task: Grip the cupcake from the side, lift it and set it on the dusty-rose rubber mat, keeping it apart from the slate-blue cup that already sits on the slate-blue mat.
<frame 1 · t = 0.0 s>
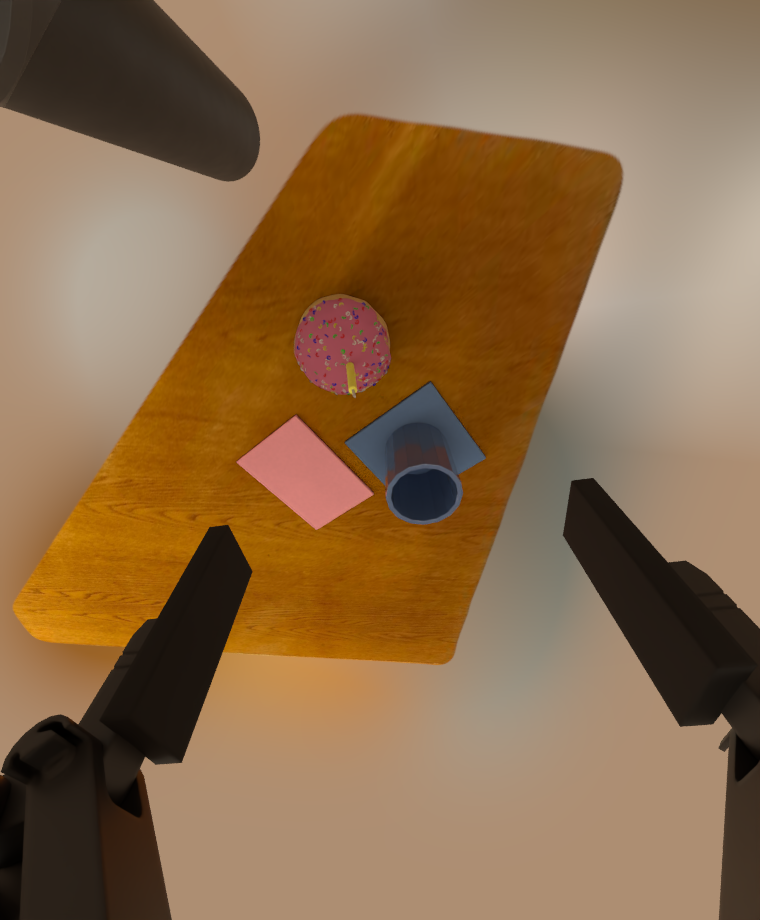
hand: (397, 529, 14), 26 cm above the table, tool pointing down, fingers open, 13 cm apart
blue cup: (416, 449, 42), resting on blue mat
rose mat: (307, 477, 45), on the table
cupcake: (346, 335, 36), on the table
blue mat: (416, 449, 42), on the table
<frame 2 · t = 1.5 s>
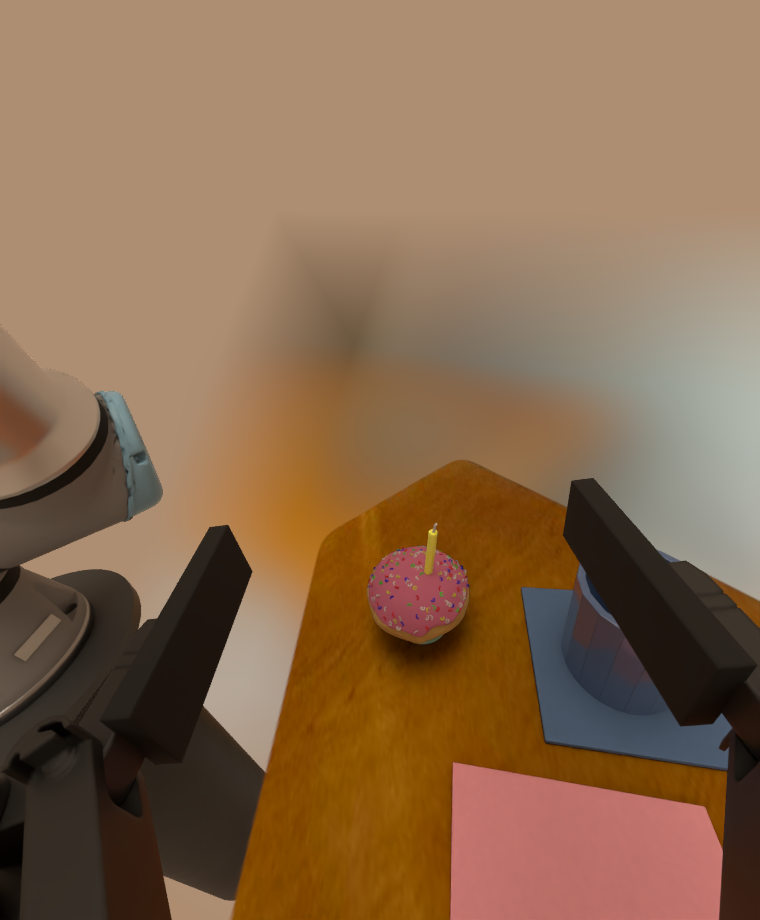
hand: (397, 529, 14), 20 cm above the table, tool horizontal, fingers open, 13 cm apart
blue cup: (614, 661, 27), resting on blue mat
rose mat: (592, 912, 18), on the table
cupcake: (421, 621, 33), on the table
blue mat: (614, 661, 27), on the table
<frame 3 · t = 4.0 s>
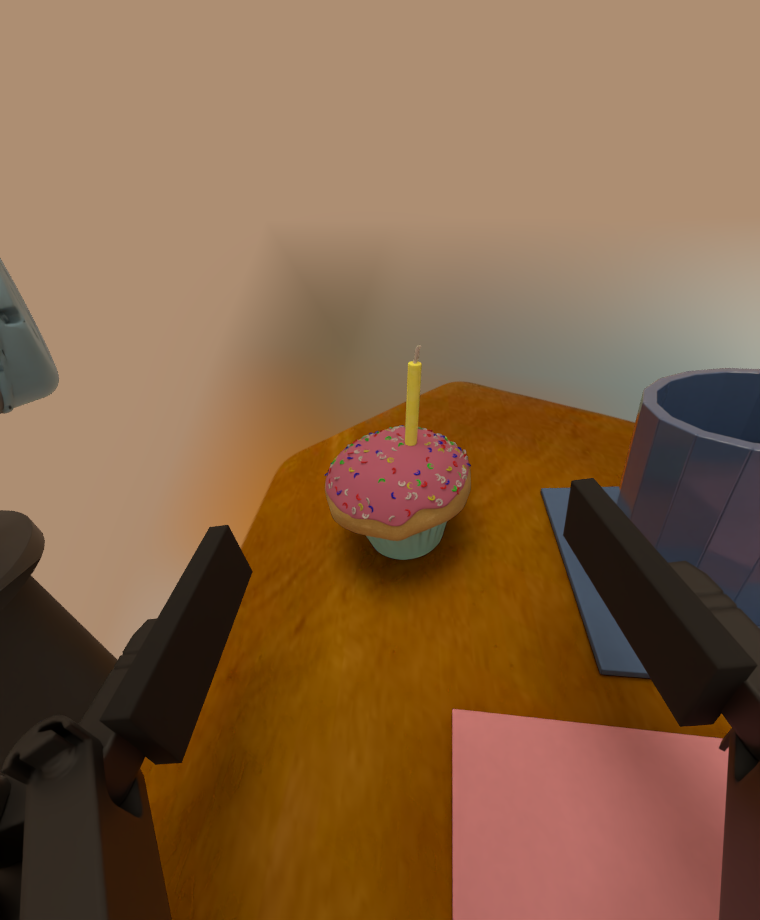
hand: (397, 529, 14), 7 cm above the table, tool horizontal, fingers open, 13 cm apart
blue cup: (690, 563, 18), resting on blue mat
cupcake: (405, 536, 23), on the table
blue mat: (690, 563, 18), on the table
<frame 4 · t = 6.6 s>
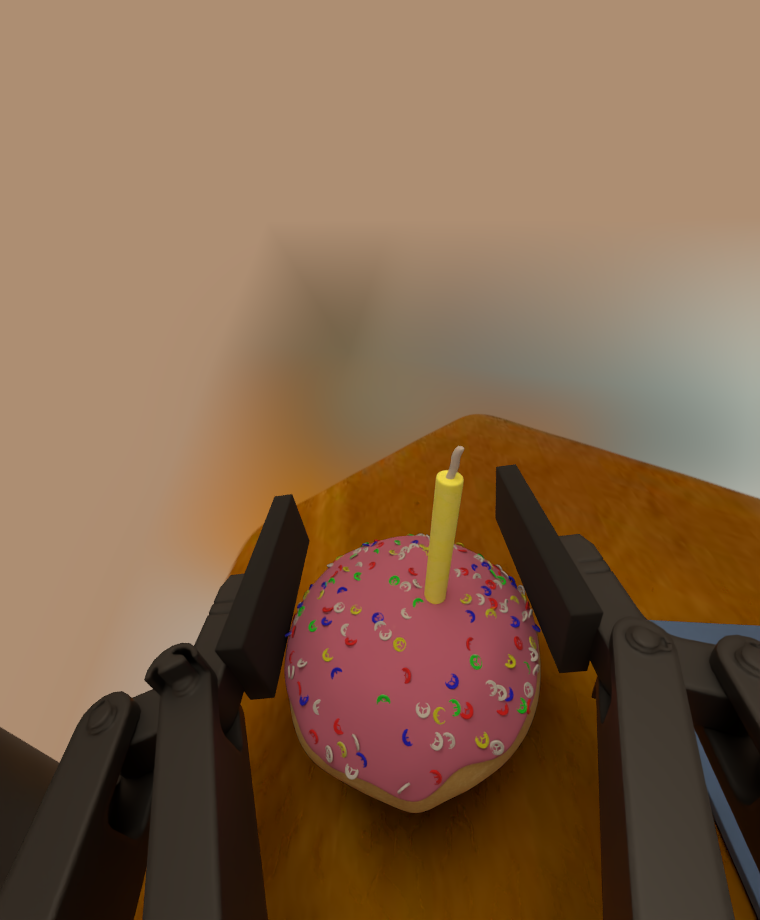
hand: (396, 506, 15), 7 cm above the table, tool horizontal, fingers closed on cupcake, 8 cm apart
cupcake: (420, 703, 15), on the table, touching gripper
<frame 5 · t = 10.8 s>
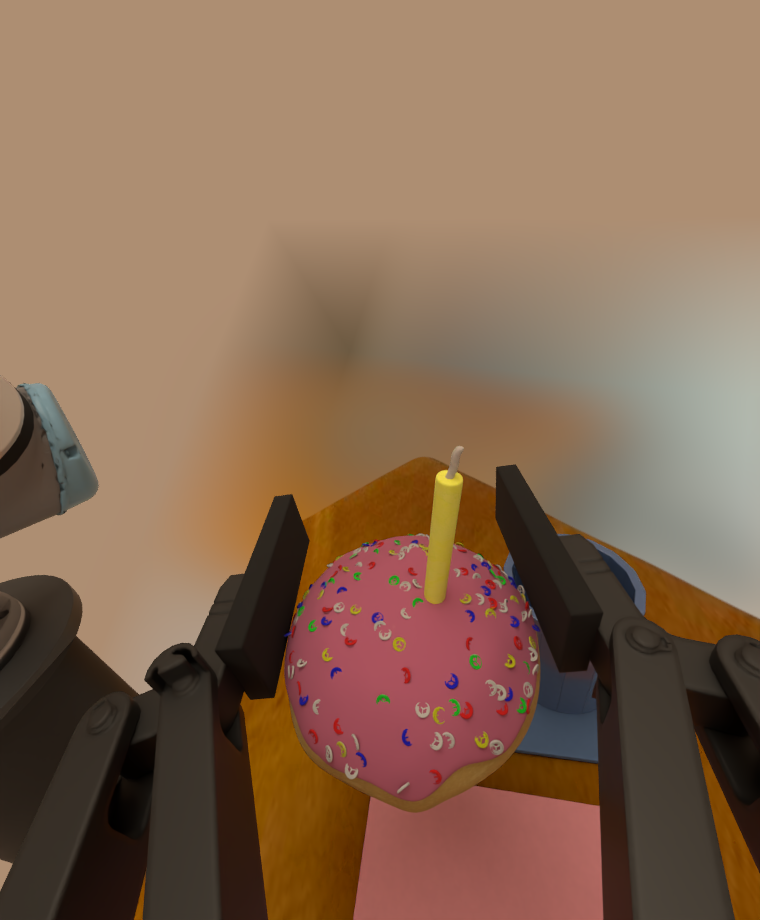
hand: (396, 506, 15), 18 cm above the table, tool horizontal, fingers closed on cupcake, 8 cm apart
blue cup: (554, 659, 26), resting on blue mat
cupcake: (420, 703, 15), point 11 cm above the table, touching gripper
blue mat: (554, 659, 26), on the table
when the fingers open (7 cm above the table, at t = 15.0 s): cupcake stays where it is, resting on rose mat.
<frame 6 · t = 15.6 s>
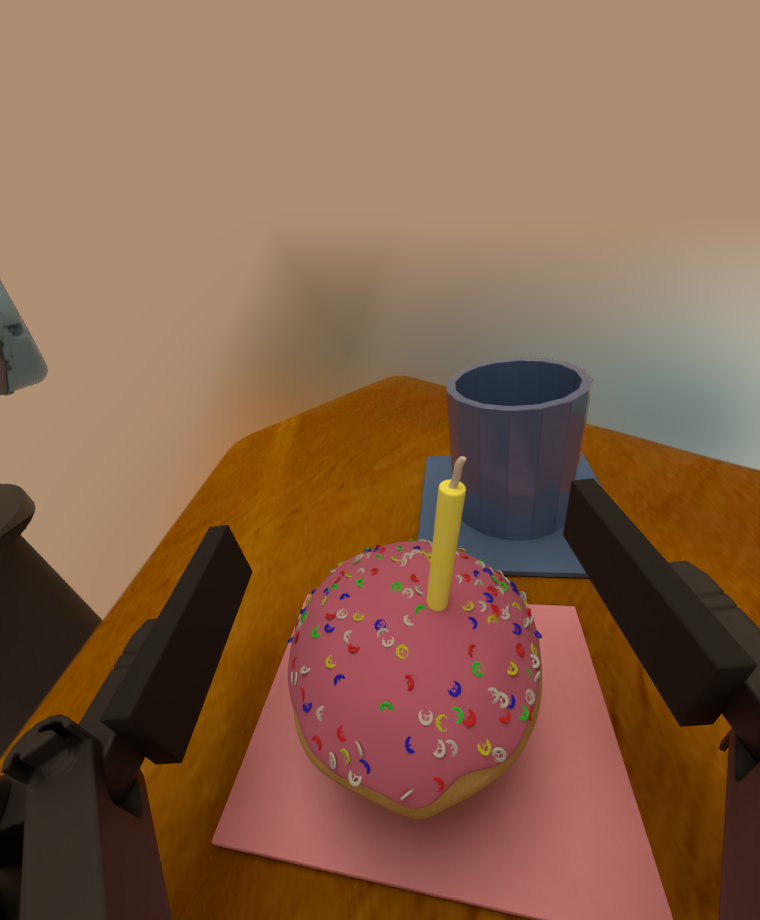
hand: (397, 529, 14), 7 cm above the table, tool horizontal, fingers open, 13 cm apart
blue cup: (509, 504, 24), resting on blue mat
rose mat: (424, 708, 15), on the table
cupcake: (422, 707, 15), resting on rose mat
blue mat: (509, 504, 24), on the table
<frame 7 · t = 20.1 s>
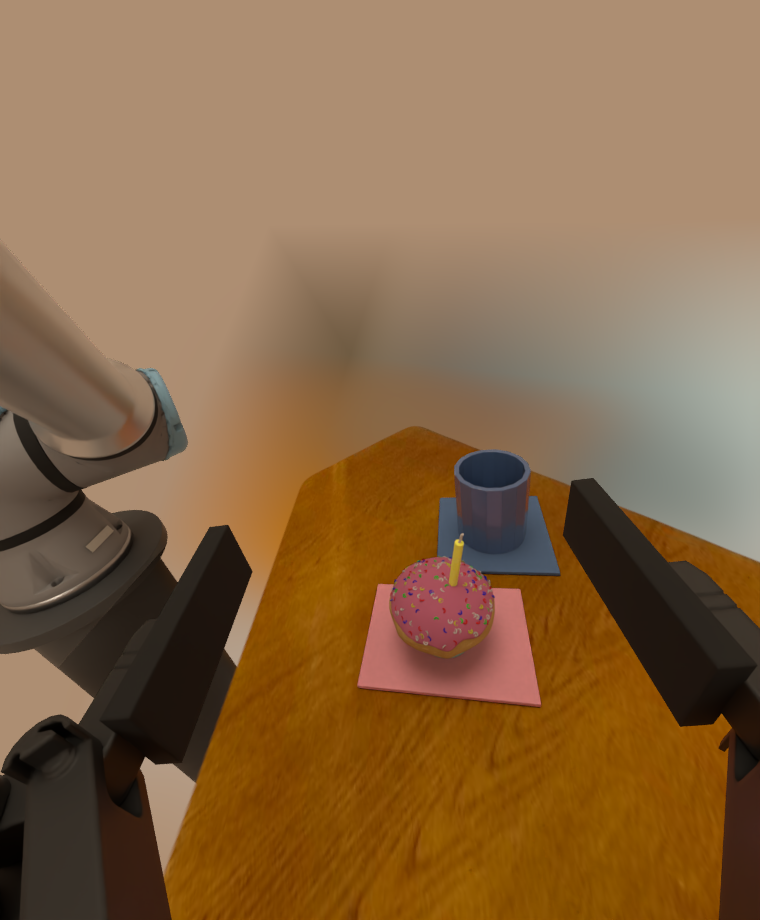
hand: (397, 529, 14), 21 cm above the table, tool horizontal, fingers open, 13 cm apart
blue cup: (491, 532, 41), resting on blue mat
rose mat: (445, 636, 32), on the table
cupcake: (444, 635, 32), resting on rose mat
blue mat: (491, 532, 41), on the table
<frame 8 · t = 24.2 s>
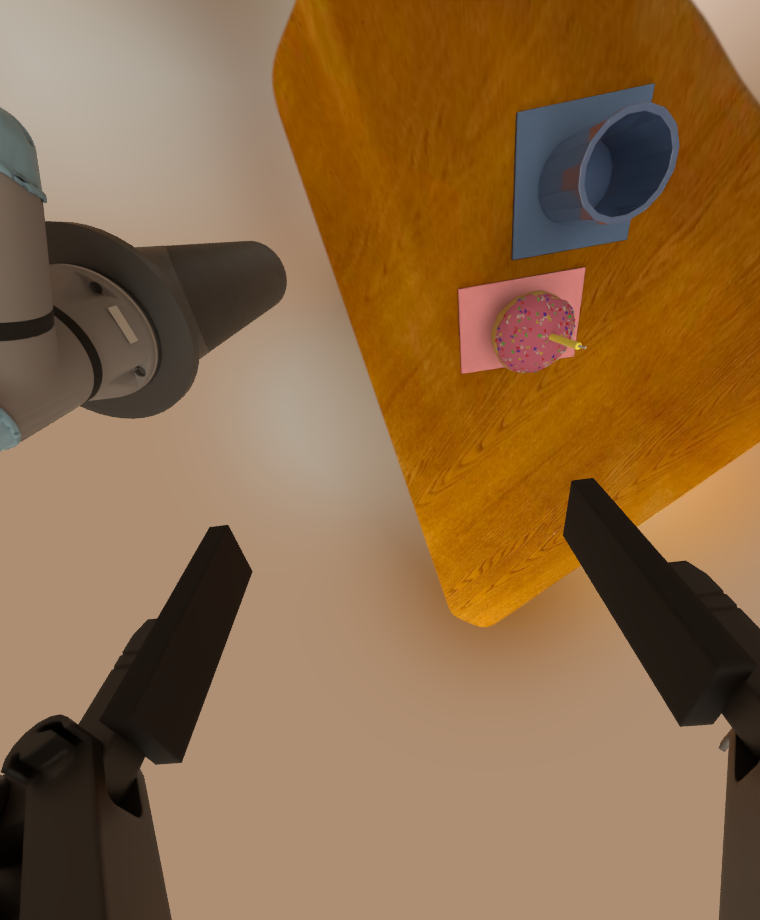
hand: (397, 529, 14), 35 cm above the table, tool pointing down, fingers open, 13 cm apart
blue cup: (574, 181, 36), resting on blue mat
rose mat: (517, 323, 43), on the table
cupcake: (517, 324, 43), resting on rose mat
blue mat: (574, 181, 36), on the table
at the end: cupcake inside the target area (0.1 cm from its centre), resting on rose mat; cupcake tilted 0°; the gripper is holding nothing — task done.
